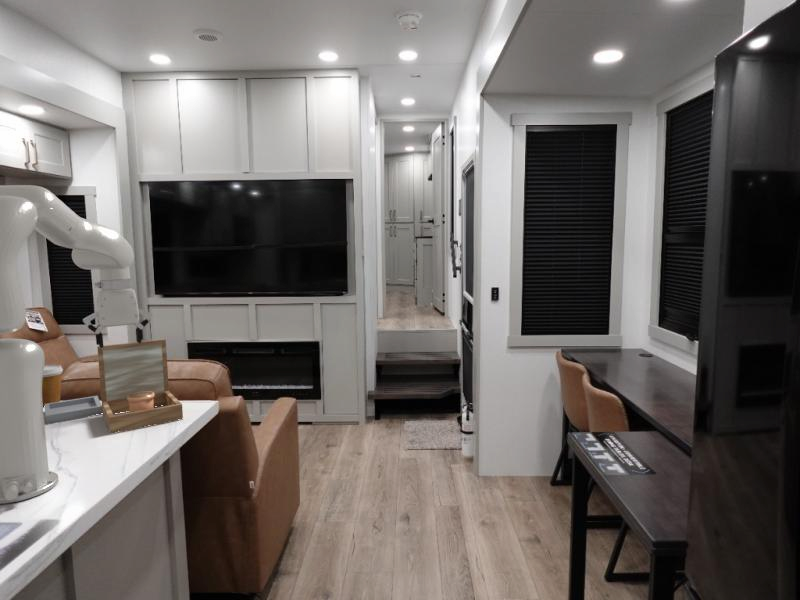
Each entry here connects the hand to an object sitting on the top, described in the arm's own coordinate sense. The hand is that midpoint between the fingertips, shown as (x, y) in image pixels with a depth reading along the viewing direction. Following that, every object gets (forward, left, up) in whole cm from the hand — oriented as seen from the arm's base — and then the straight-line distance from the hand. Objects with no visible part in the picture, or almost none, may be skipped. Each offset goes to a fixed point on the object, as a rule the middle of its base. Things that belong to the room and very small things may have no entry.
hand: (120, 344), depth 144 cm
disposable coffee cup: (+32, +18, -22) cm, 43 cm away
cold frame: (-2, -4, -22) cm, 23 cm away
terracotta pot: (-2, -4, -22) cm, 23 cm away
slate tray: (+16, +12, -22) cm, 30 cm away
